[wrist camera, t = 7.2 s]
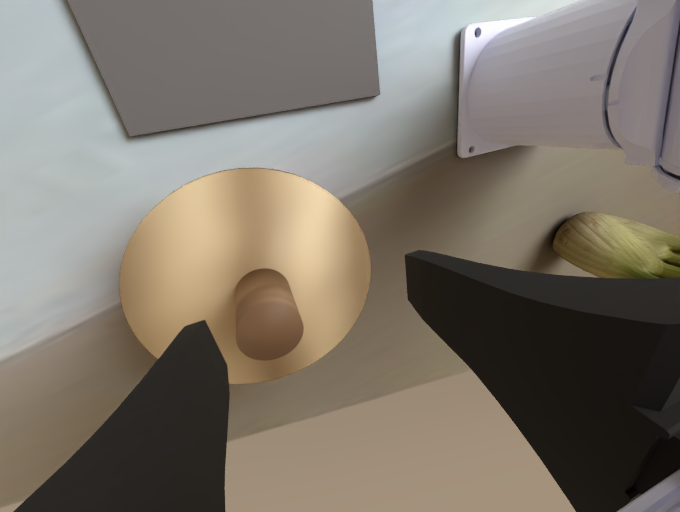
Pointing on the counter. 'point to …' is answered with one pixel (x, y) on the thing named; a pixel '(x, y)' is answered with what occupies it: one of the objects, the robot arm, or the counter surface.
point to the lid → (248, 271)
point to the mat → (227, 57)
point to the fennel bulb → (617, 247)
